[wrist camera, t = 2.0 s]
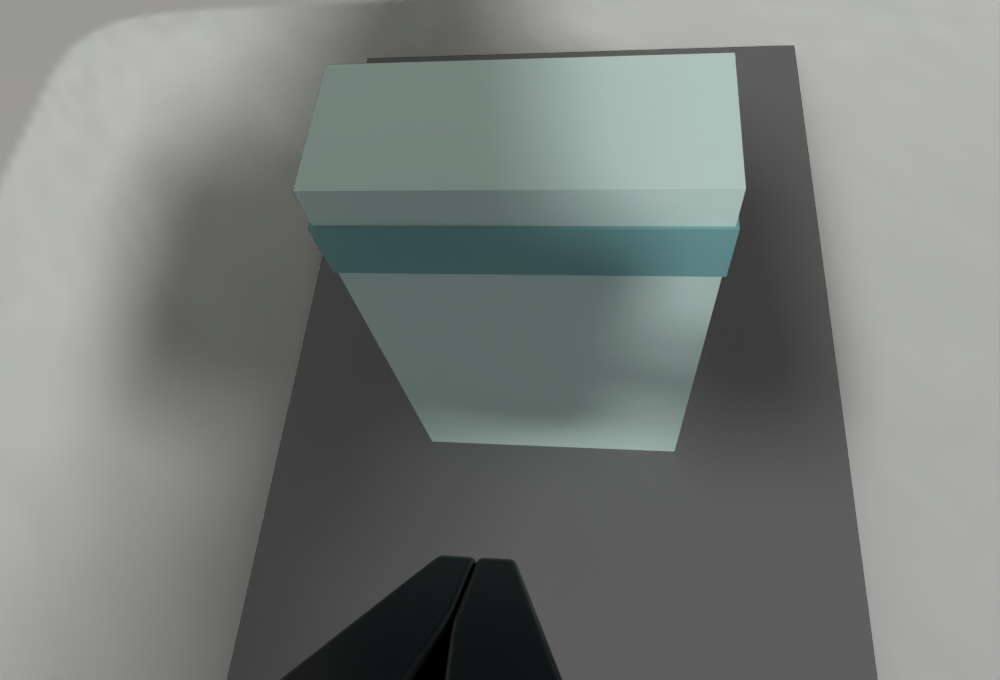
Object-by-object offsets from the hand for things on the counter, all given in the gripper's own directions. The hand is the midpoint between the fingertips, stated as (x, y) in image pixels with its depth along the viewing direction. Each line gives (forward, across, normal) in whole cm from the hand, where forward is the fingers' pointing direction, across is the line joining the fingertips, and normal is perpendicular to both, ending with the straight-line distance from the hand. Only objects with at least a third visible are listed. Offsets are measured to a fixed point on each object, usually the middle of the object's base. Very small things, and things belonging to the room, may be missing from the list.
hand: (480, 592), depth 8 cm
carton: (+11, 0, +2) cm, 11 cm away
